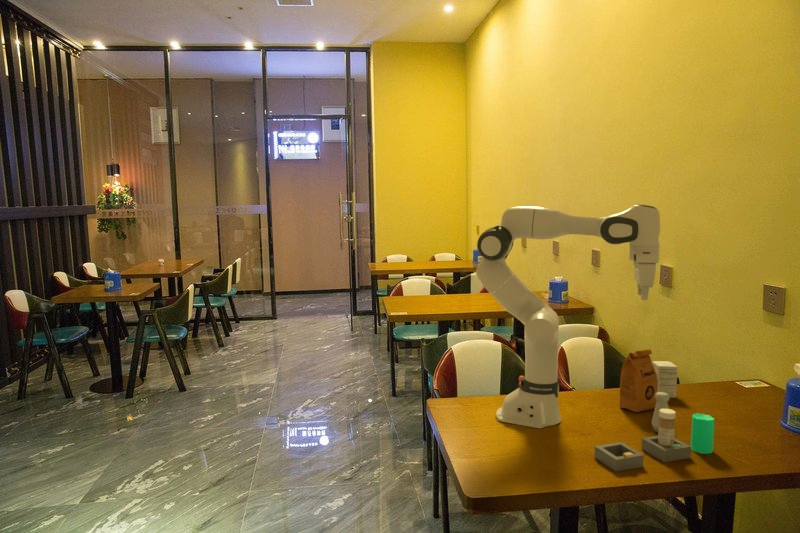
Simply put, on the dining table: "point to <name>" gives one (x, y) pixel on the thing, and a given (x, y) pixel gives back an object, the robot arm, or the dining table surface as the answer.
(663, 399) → the salt shaker
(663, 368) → the supplement box
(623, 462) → the gray open box
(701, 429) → the candle
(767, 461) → the dining table surface
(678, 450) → the grey square tray
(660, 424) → the sprinkles bottle
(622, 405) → the coffee package
